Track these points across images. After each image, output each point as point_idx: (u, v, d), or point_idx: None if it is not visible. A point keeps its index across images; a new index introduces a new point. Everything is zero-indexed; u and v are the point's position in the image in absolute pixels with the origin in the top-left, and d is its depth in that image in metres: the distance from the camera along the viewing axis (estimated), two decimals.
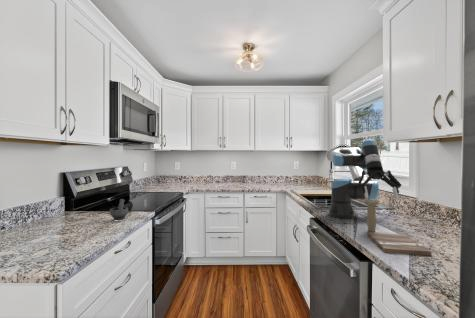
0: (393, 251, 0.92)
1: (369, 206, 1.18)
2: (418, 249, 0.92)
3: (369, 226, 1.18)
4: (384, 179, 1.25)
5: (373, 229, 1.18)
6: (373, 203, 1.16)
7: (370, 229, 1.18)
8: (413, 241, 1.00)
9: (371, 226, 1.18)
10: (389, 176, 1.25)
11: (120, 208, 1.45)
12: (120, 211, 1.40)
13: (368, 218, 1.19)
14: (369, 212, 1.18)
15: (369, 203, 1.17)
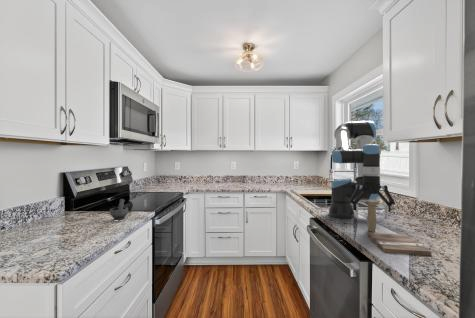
0: (393, 251, 0.92)
1: (369, 206, 1.18)
2: (418, 249, 0.92)
3: (369, 226, 1.18)
4: (378, 195, 1.18)
5: (373, 229, 1.18)
6: (374, 203, 1.16)
7: (370, 229, 1.18)
8: (413, 241, 1.00)
9: (371, 226, 1.18)
10: (385, 191, 1.18)
11: (120, 208, 1.45)
12: (120, 211, 1.40)
13: (368, 218, 1.19)
14: (369, 212, 1.18)
15: (370, 203, 1.17)
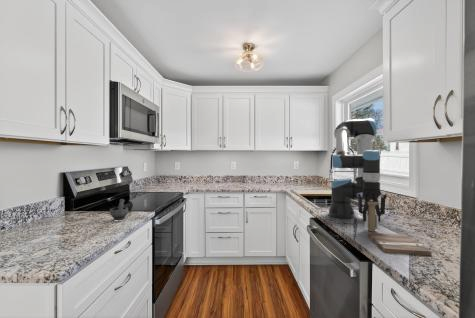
0: (393, 251, 0.92)
1: (369, 206, 1.18)
2: (418, 249, 0.92)
3: (369, 226, 1.18)
4: None
5: (373, 229, 1.18)
6: (373, 203, 1.16)
7: (370, 229, 1.18)
8: (413, 241, 1.00)
9: (371, 226, 1.18)
10: (381, 199, 1.18)
11: (120, 208, 1.45)
12: (120, 211, 1.40)
13: (368, 218, 1.19)
14: (369, 212, 1.18)
15: (369, 203, 1.18)
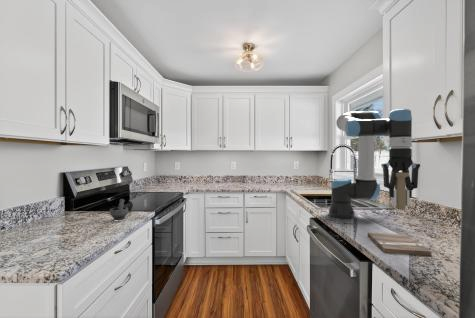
0: (393, 251, 0.92)
1: (398, 178, 0.96)
2: (418, 249, 0.92)
3: (398, 203, 0.96)
4: None
5: (403, 206, 0.95)
6: (403, 174, 0.94)
7: (399, 207, 0.96)
8: (413, 241, 1.00)
9: (400, 203, 0.95)
10: (413, 170, 0.96)
11: (120, 208, 1.45)
12: (120, 211, 1.40)
13: (396, 193, 0.96)
14: (398, 186, 0.96)
15: (398, 174, 0.95)
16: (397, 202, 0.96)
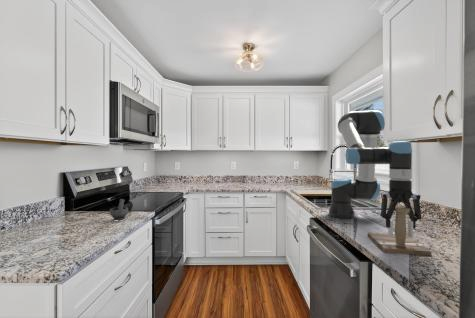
0: (393, 251, 0.92)
1: (398, 213, 0.96)
2: (418, 249, 0.92)
3: (398, 238, 0.96)
4: (406, 205, 0.96)
5: (403, 242, 0.96)
6: (404, 210, 0.93)
7: (399, 242, 0.96)
8: (413, 241, 1.00)
9: (400, 238, 0.95)
10: (414, 201, 0.96)
11: (120, 208, 1.45)
12: (120, 211, 1.40)
13: (397, 228, 0.96)
14: (398, 221, 0.96)
15: (399, 210, 0.95)
16: (397, 237, 0.96)
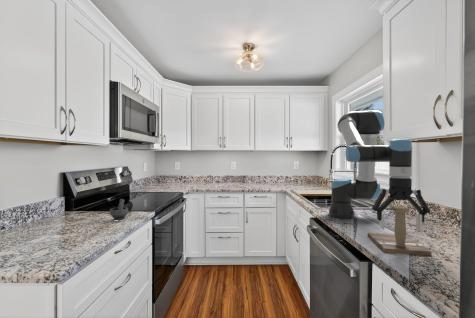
0: (393, 251, 0.92)
1: (398, 213, 0.96)
2: (418, 249, 0.92)
3: (398, 238, 0.96)
4: (409, 201, 0.96)
5: (403, 242, 0.96)
6: (404, 210, 0.94)
7: (399, 242, 0.96)
8: (413, 241, 1.00)
9: (400, 238, 0.95)
10: (417, 197, 0.96)
11: (120, 208, 1.45)
12: (120, 211, 1.40)
13: (396, 228, 0.96)
14: (398, 221, 0.96)
15: (398, 210, 0.95)
16: (397, 237, 0.96)
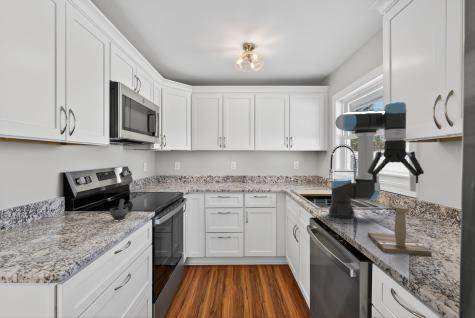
0: (393, 251, 0.92)
1: (398, 213, 0.96)
2: (418, 249, 0.92)
3: (398, 238, 0.96)
4: (404, 163, 0.99)
5: (403, 242, 0.96)
6: (404, 210, 0.94)
7: (399, 241, 0.96)
8: (413, 241, 1.00)
9: (400, 238, 0.95)
10: (411, 159, 0.98)
11: (120, 208, 1.45)
12: (120, 211, 1.40)
13: (396, 228, 0.97)
14: (398, 220, 0.96)
15: (398, 209, 0.95)
16: (397, 237, 0.96)
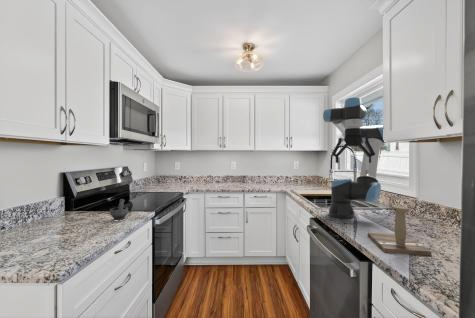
0: (393, 251, 0.92)
1: (398, 213, 0.96)
2: (418, 249, 0.92)
3: (398, 238, 0.96)
4: (360, 147, 1.22)
5: (403, 242, 0.96)
6: (404, 210, 0.94)
7: (399, 242, 0.96)
8: (413, 241, 1.00)
9: (400, 238, 0.95)
10: (366, 143, 1.21)
11: (120, 208, 1.45)
12: (120, 211, 1.40)
13: (396, 228, 0.96)
14: (398, 221, 0.96)
15: (398, 210, 0.95)
16: (397, 237, 0.96)
